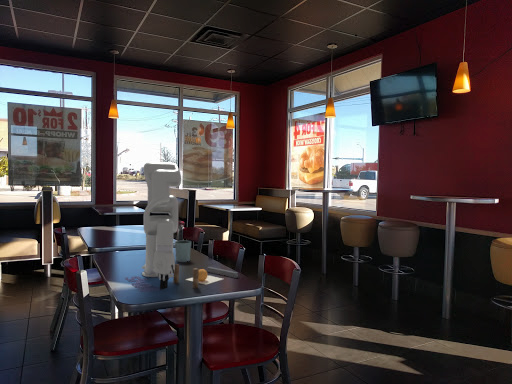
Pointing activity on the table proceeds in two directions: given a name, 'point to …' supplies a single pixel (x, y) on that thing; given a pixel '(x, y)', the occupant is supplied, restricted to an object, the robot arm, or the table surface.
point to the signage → (141, 284)
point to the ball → (202, 275)
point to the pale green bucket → (183, 250)
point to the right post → (195, 277)
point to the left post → (176, 274)
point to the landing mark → (207, 280)
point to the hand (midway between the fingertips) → (163, 288)
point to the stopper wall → (222, 272)
